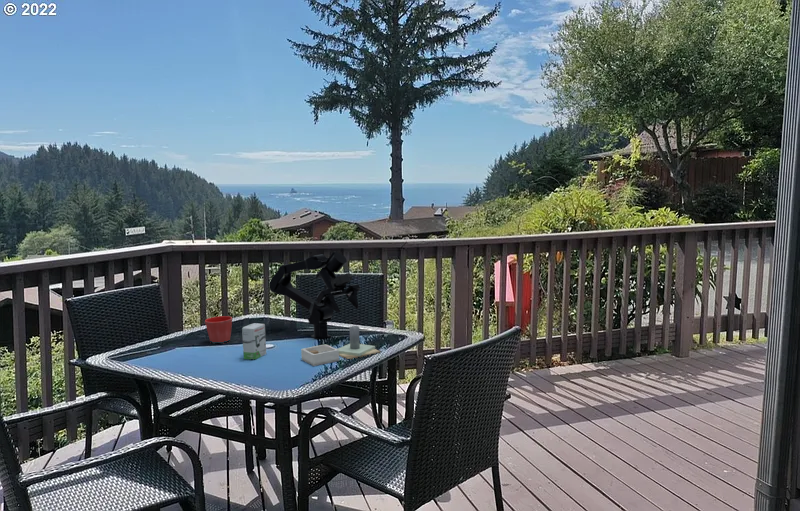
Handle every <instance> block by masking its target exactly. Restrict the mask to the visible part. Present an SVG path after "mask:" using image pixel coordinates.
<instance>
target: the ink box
mask: <svg viewBox="0 0 800 511" xmlns="http://www.w3.org/2000/svg"><path fill="white" fill-rule="evenodd" d="M241 330H242V331H241V332H242V333H241V335H242V349H243V350H242V352H243V359H244V360H251V359H253V360H254V359H255V360H257V359H259V358H261V357H263V356H266V355H267V341H266V338H267V337H266V325H265V323H257V322H256V323H255V322H254V323H250V324H248V325H245V326H243V327H242V328H241ZM253 360H252V361H253ZM255 360H254V361H255Z"/></svg>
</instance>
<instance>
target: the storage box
mask: <svg viewBox="0 0 800 511" xmlns="http://www.w3.org/2000/svg"><path fill="white" fill-rule="evenodd" d="M300 351H301V355H300V356H301V361H303V362H305V363H307V364H309V365H310V366H312V367H317V366H321V365H325V364H331V363H336V362H340V356H339V350H337V348H336V347H333V346H330V345H329V344H320V345H313V346H310V347H309V346H308V347H304V348H300Z"/></svg>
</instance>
